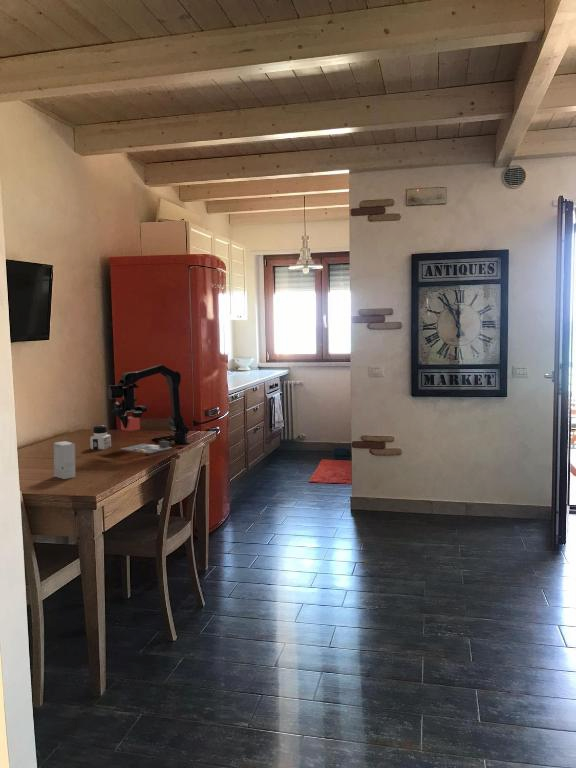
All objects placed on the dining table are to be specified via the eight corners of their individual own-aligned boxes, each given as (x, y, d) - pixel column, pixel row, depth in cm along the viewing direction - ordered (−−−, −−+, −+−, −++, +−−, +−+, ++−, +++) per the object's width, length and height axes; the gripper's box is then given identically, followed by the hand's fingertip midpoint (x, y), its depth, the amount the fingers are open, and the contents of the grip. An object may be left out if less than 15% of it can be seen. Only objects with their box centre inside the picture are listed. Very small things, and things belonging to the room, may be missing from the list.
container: (104, 452, 318) (103, 427, 317) (90, 451, 320) (89, 426, 318) (111, 449, 326) (110, 424, 324) (97, 448, 327) (96, 424, 326)
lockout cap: (130, 427, 323) (130, 416, 323) (139, 429, 319) (139, 417, 319) (121, 429, 318) (120, 418, 318) (130, 430, 314) (130, 419, 313)
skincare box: (53, 476, 268) (51, 442, 266) (66, 474, 272) (64, 440, 271) (64, 479, 262) (62, 444, 261) (77, 476, 267) (75, 442, 265)
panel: (143, 446, 332) (143, 442, 332) (172, 450, 319) (172, 446, 319) (119, 451, 319) (119, 447, 319) (149, 456, 306) (149, 452, 306)
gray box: (163, 446, 322) (163, 440, 321) (169, 446, 319) (169, 441, 319) (159, 447, 319) (159, 441, 319) (165, 447, 317) (164, 442, 316)
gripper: (132, 394, 329) (134, 423, 331) (103, 398, 314) (105, 428, 316) (147, 395, 323) (148, 425, 324) (118, 399, 308) (120, 430, 309)
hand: (130, 427), depth 319 cm, fingers closed on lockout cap, 6 cm apart
